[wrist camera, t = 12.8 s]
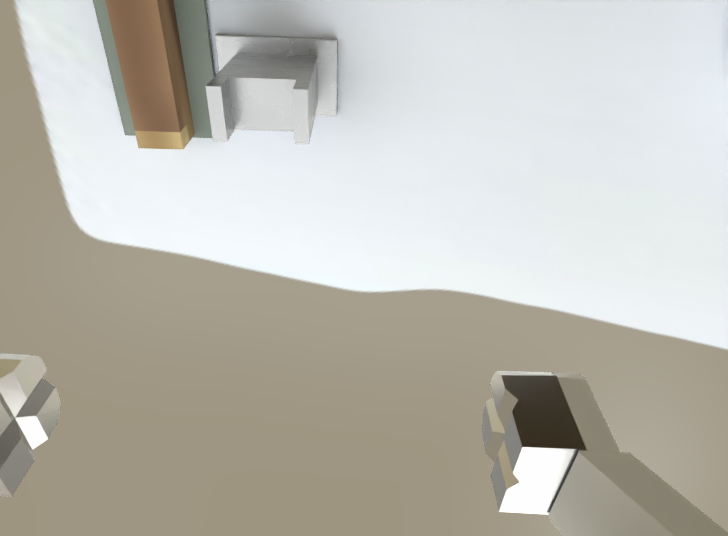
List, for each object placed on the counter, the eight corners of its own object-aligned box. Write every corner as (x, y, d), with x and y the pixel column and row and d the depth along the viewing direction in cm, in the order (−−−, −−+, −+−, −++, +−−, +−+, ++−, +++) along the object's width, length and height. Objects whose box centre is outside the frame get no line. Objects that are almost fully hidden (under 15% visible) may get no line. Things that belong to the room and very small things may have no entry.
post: (337, 39, 33) (332, 71, 26) (336, 113, 36) (331, 161, 29) (217, 34, 33) (177, 65, 26) (225, 109, 36) (192, 157, 28)
